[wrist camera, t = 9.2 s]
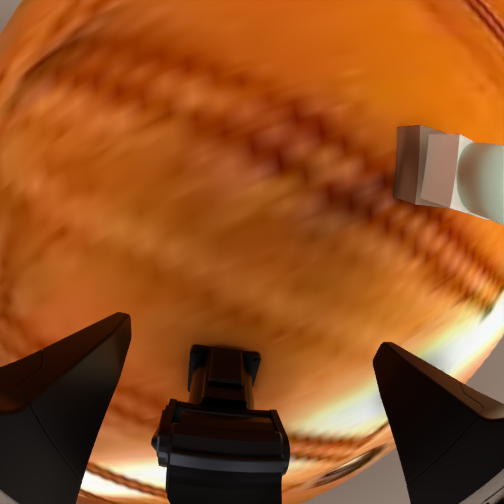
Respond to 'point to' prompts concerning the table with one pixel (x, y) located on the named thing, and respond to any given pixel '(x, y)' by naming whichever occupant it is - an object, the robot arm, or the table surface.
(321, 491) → the table surface
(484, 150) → the grey domed cylinder
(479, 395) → the robot arm
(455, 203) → the tower top block
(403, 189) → the tower base block
